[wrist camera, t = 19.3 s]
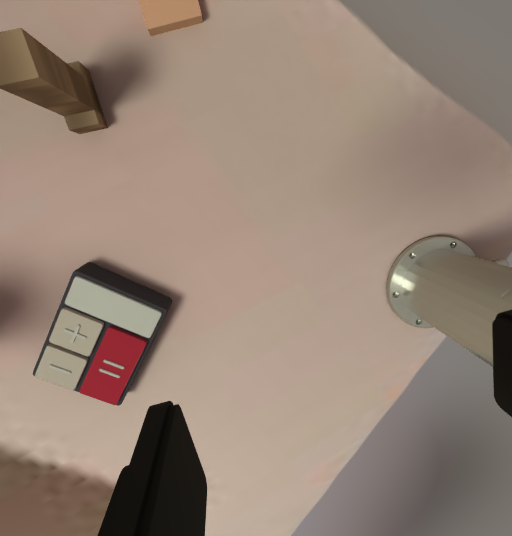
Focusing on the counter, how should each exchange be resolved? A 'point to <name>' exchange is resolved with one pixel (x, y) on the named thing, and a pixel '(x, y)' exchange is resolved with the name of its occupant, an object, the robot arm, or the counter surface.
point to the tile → (170, 14)
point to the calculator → (101, 334)
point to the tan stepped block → (49, 81)
